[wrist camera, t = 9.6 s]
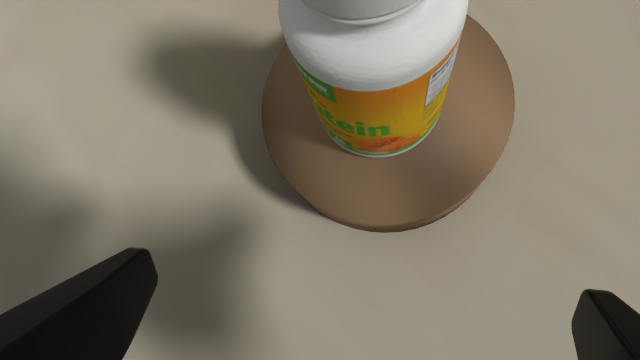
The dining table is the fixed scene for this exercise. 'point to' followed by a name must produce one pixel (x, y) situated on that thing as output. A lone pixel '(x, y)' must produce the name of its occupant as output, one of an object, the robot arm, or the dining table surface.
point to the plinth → (403, 169)
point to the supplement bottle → (375, 66)
